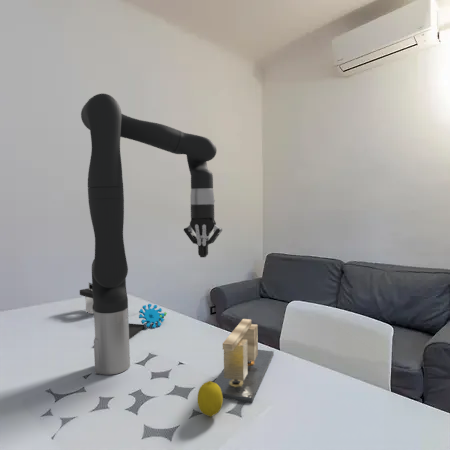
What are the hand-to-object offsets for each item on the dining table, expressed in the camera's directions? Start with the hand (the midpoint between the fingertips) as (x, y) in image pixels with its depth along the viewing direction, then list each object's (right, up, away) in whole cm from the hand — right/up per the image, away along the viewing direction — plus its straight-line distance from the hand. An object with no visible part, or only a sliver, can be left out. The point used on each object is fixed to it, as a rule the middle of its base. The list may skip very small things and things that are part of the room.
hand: (203, 257), depth 118 cm
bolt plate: (+12, -30, -18) cm, 37 cm away
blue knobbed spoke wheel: (-20, -28, +22) cm, 41 cm away
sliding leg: (+11, -28, -22) cm, 38 cm away
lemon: (+4, -32, -37) cm, 49 cm away
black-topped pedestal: (-47, -28, +37) cm, 66 cm away
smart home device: (-29, -29, +10) cm, 43 cm away
